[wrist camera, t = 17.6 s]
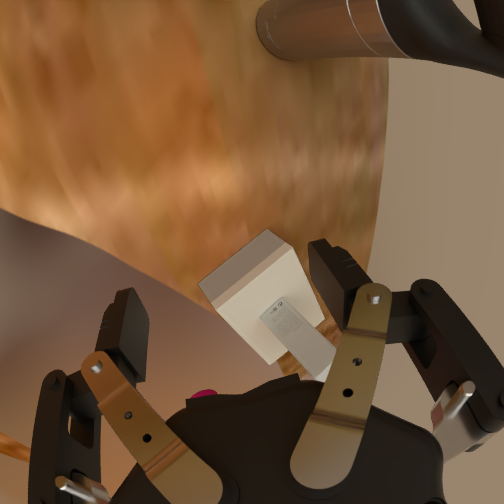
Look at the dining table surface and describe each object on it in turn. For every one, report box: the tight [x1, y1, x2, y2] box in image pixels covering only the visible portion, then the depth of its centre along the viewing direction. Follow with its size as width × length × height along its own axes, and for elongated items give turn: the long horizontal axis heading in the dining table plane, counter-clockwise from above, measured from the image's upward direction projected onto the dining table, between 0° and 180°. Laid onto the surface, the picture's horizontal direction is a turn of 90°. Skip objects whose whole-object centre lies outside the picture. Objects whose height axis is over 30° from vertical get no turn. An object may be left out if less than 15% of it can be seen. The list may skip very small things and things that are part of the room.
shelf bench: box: [198, 229, 325, 365], centre depth 43 cm, size 12×18×6 cm, turn 28°
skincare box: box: [261, 297, 337, 382], centre depth 36 cm, size 6×4×12 cm
